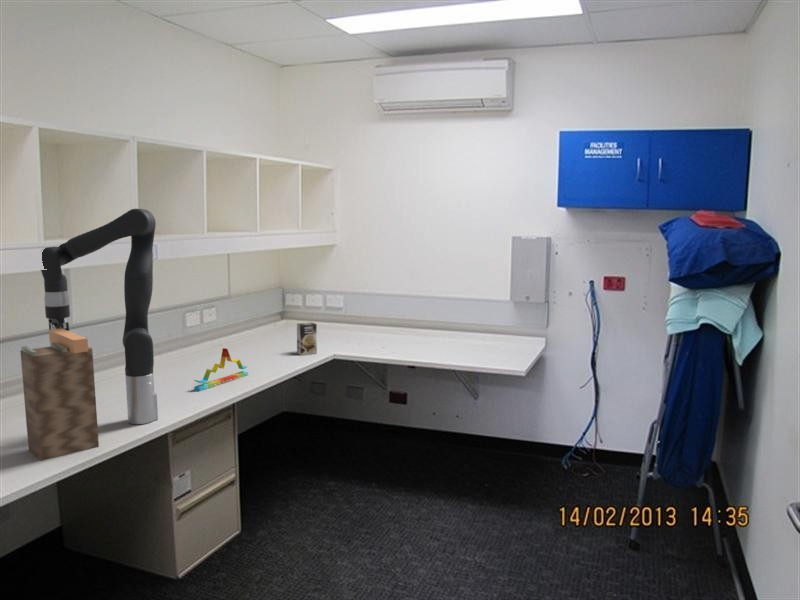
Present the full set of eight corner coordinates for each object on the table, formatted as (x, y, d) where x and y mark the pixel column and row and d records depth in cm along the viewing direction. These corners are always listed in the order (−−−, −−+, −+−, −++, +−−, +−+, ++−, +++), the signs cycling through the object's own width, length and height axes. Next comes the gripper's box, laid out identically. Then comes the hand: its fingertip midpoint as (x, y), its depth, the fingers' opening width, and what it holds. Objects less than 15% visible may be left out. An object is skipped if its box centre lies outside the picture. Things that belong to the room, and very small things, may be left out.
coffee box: (301, 355, 335) (300, 325, 333) (296, 353, 340) (296, 323, 338) (317, 353, 339) (316, 323, 337) (313, 351, 345) (312, 321, 343)
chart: (200, 392, 268) (198, 356, 266) (194, 391, 269) (192, 356, 267) (248, 375, 295) (247, 343, 293) (243, 375, 296) (242, 343, 294)
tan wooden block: (62, 340, 213) (62, 328, 212) (88, 351, 196) (87, 338, 195) (49, 342, 210) (48, 329, 210) (74, 353, 193) (73, 340, 193)
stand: (85, 437, 213) (78, 339, 209) (98, 446, 205) (91, 344, 200) (28, 450, 202) (20, 346, 197) (40, 460, 193) (31, 352, 189)
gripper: (75, 305, 221) (78, 351, 223) (62, 301, 231) (65, 345, 233) (51, 307, 216) (55, 354, 218) (39, 303, 226) (42, 348, 228)
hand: (60, 349), depth 226 cm, fingers open, 8 cm apart
